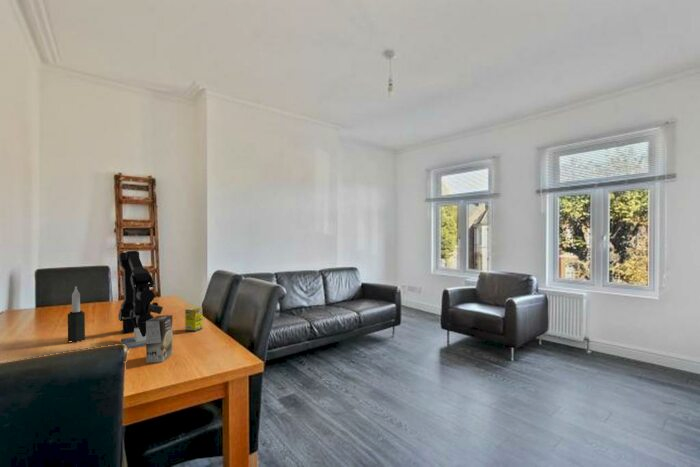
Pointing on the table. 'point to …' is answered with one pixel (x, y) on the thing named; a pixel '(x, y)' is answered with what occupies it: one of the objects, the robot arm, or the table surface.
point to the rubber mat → (132, 342)
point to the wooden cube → (138, 335)
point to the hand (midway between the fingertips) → (141, 334)
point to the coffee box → (159, 338)
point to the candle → (76, 320)
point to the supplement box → (193, 319)
